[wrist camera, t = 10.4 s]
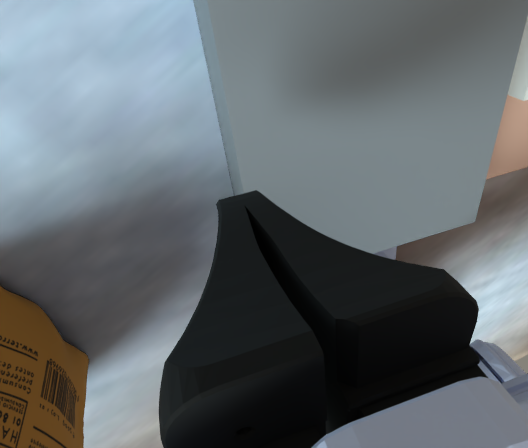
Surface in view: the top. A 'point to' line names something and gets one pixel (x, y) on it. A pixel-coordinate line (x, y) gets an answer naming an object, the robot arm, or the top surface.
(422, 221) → the grey flat block
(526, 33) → the cream rectangular block
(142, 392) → the top surface
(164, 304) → the top surface
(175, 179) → the top surface
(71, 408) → the coffee package
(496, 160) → the mat
